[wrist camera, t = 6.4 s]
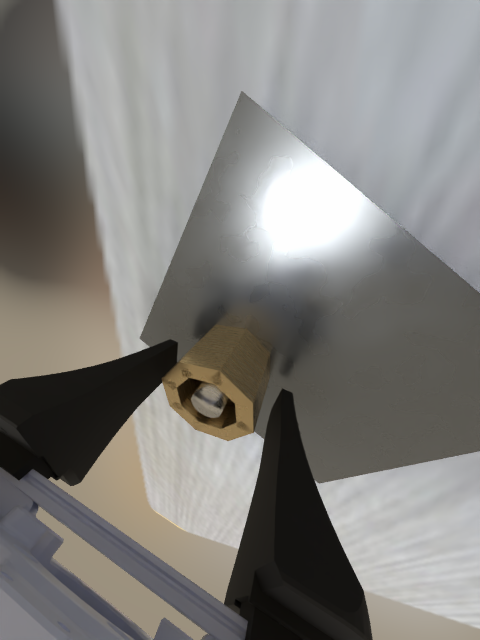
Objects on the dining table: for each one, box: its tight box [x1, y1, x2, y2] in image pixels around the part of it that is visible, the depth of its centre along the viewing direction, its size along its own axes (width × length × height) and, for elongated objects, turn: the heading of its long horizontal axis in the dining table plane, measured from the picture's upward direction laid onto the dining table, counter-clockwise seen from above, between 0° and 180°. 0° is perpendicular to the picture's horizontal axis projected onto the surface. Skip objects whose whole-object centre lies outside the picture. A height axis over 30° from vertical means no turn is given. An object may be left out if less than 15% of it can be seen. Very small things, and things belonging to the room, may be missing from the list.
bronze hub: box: [162, 325, 270, 441], centre depth 11 cm, size 5×5×4 cm
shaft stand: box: [140, 91, 480, 483], centre depth 10 cm, size 20×16×6 cm
